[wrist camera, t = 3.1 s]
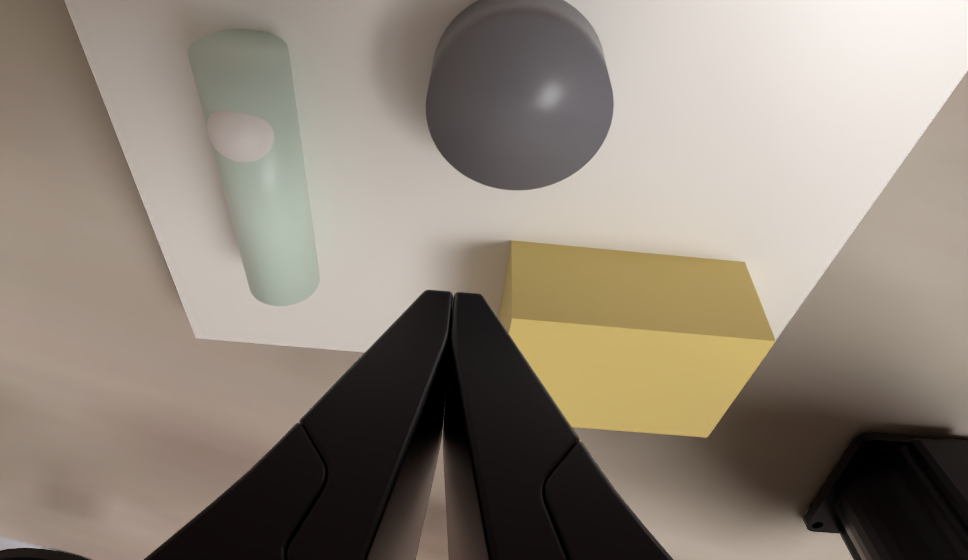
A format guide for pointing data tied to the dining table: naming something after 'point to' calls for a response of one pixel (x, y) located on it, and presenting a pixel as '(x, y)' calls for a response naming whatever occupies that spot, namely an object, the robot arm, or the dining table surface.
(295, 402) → the dining table surface
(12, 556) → the french press
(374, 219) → the instrument board
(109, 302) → the dining table surface
